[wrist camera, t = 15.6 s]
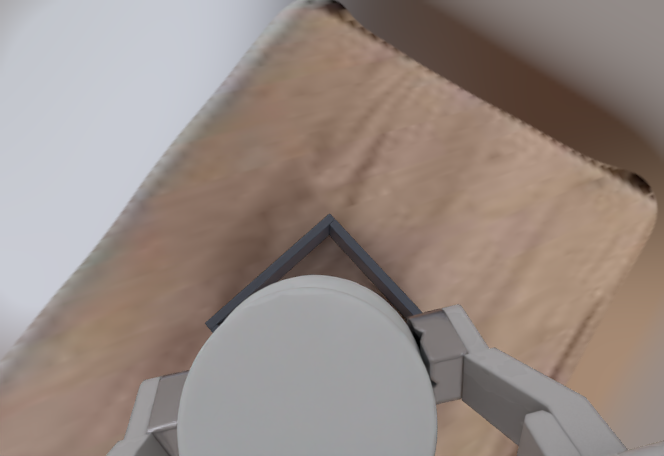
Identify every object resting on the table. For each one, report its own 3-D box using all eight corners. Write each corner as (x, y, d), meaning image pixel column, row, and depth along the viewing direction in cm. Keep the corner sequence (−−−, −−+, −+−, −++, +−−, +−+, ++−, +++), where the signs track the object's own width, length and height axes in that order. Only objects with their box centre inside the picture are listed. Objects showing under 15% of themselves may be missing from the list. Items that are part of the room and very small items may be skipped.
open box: (428, 331, 29) (443, 334, 26) (318, 439, 28) (317, 460, 24) (329, 225, 31) (329, 213, 27) (220, 321, 29) (204, 323, 26)
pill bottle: (286, 267, 17) (231, 210, 8) (406, 319, 17) (511, 328, 7) (230, 393, 16) (80, 514, 6) (357, 452, 16) (401, 678, 6)
